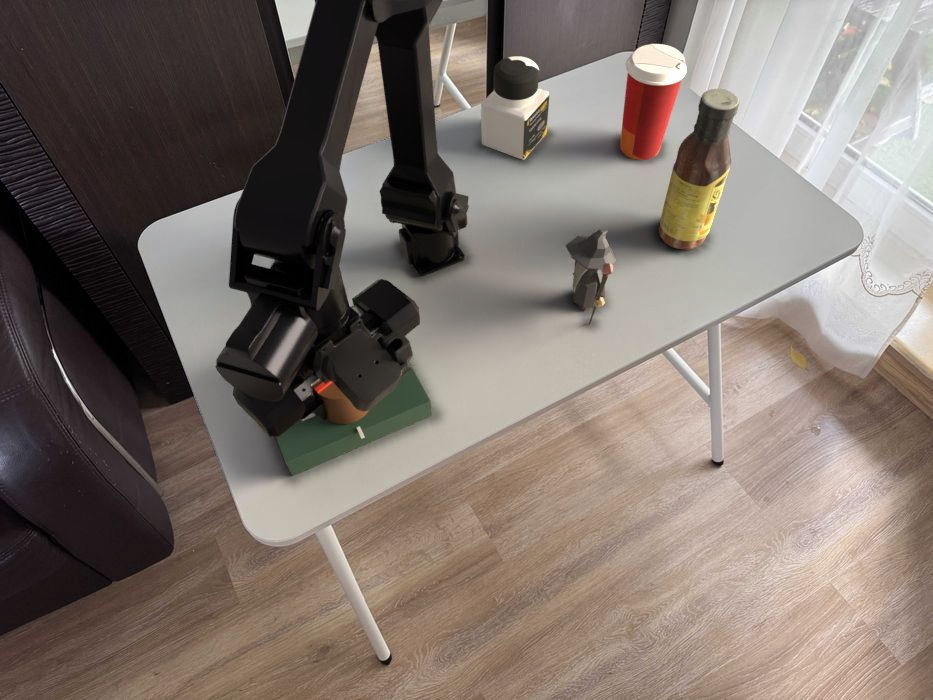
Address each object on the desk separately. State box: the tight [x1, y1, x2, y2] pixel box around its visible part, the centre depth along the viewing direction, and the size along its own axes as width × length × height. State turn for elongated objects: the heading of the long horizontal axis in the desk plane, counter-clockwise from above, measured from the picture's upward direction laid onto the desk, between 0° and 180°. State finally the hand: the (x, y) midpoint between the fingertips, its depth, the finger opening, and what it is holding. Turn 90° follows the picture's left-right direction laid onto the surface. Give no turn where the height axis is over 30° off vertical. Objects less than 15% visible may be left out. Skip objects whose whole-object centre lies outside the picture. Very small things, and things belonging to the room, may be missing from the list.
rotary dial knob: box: [312, 380, 369, 424], centre depth 73 cm, size 6×6×5 cm
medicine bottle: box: [480, 55, 550, 160], centre depth 99 cm, size 7×7×12 cm
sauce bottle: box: [658, 88, 740, 250], centre depth 84 cm, size 7×6×20 cm
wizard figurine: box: [565, 229, 617, 325], centre depth 81 cm, size 8×6×12 cm
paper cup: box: [620, 43, 688, 161], centre depth 97 cm, size 8×8×14 cm
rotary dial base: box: [275, 305, 433, 477], centre depth 78 cm, size 16×17×3 cm
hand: (345, 399), depth 75 cm, fingers closed on rotary dial knob, 6 cm apart
